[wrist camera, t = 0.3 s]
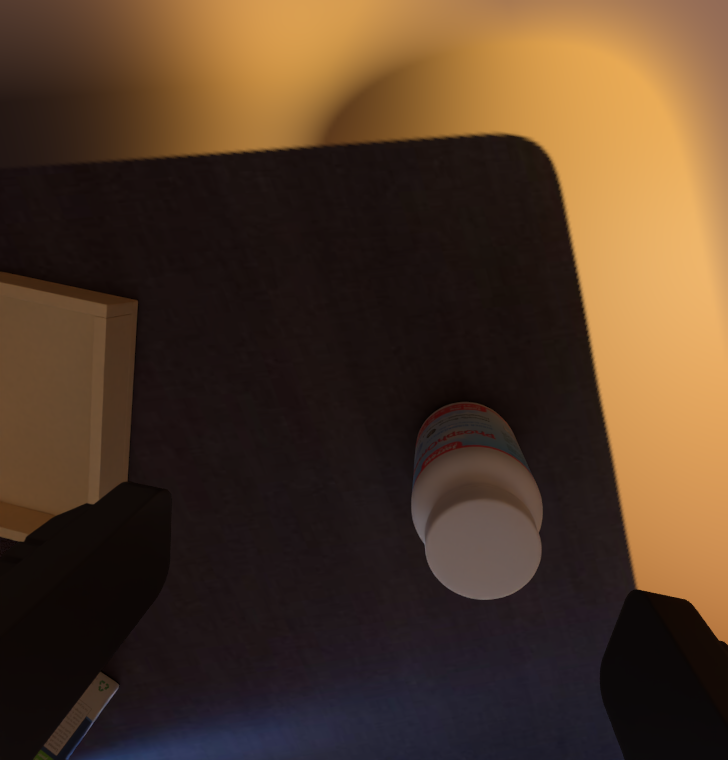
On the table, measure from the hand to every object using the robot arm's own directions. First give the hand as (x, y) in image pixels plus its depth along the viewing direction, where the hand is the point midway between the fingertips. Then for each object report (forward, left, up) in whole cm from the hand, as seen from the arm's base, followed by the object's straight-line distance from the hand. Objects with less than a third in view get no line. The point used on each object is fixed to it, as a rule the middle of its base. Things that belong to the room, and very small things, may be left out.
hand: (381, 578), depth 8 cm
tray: (+9, -26, -21) cm, 35 cm away
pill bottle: (+5, +4, -22) cm, 23 cm away
